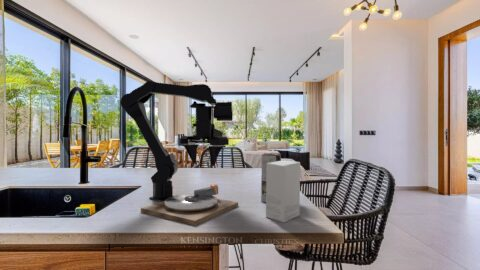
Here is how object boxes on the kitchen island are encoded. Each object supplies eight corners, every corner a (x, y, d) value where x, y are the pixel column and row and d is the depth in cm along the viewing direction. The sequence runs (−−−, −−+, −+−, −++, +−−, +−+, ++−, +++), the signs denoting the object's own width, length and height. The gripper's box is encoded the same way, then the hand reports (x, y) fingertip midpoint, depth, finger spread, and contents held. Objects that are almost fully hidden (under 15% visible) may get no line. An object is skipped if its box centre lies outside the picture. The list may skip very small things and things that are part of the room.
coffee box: (279, 203, 91) (280, 155, 90) (260, 202, 92) (261, 154, 92) (281, 196, 100) (281, 153, 99) (263, 195, 101) (264, 152, 100)
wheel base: (140, 212, 80) (140, 208, 80) (188, 197, 98) (188, 193, 98) (195, 225, 69) (195, 220, 69) (238, 205, 87) (238, 202, 87)
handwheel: (188, 215, 72) (188, 199, 72) (153, 204, 82) (153, 190, 82) (234, 200, 87) (234, 187, 87) (200, 193, 97) (200, 181, 97)
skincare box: (282, 211, 82) (283, 159, 81) (301, 216, 77) (302, 161, 77) (264, 217, 76) (265, 162, 75) (283, 223, 71) (284, 164, 71)
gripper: (238, 121, 97) (238, 164, 97) (200, 121, 108) (200, 160, 108) (217, 120, 88) (217, 168, 88) (179, 121, 99) (179, 163, 99)
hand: (203, 164), depth 96 cm, fingers open, 9 cm apart
